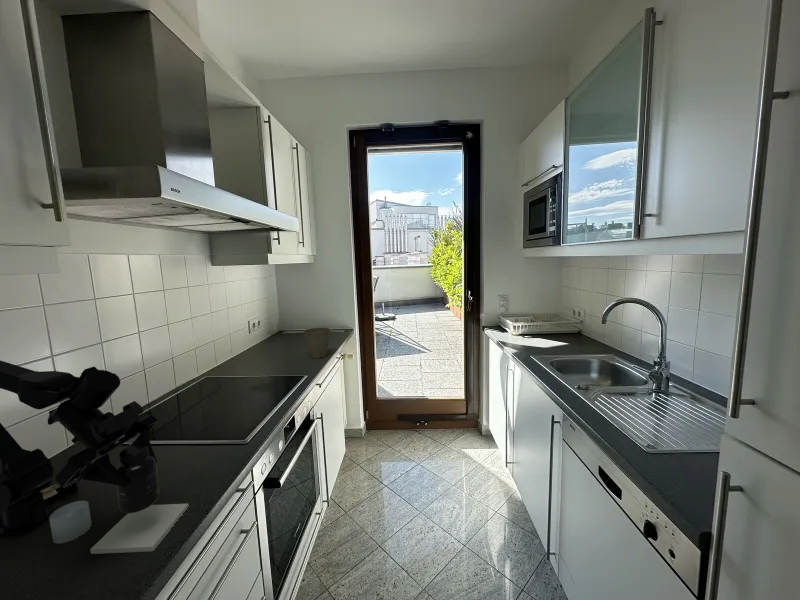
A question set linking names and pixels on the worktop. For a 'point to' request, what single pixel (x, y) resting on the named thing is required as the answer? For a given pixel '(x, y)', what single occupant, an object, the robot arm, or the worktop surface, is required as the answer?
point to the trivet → (140, 530)
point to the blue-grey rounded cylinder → (70, 521)
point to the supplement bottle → (137, 479)
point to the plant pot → (317, 341)
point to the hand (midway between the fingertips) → (142, 474)
